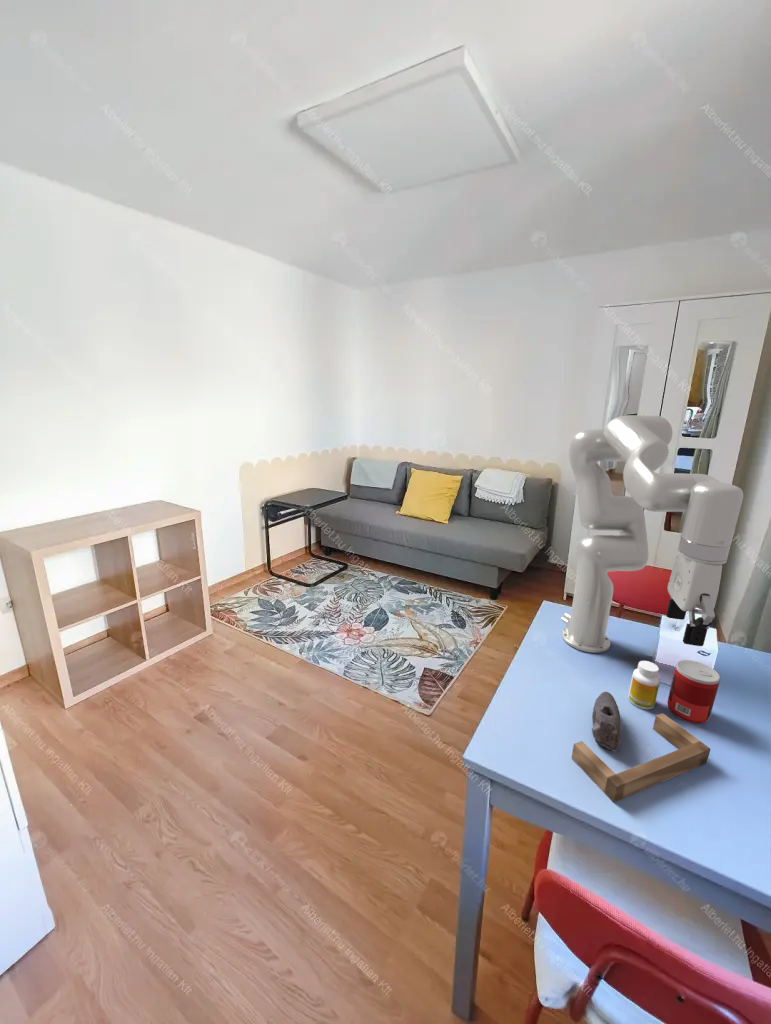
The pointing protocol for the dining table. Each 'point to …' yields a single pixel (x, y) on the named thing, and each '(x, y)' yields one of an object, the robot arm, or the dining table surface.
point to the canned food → (693, 691)
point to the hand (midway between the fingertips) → (683, 630)
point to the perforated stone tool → (606, 722)
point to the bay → (647, 773)
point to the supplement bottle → (644, 685)
